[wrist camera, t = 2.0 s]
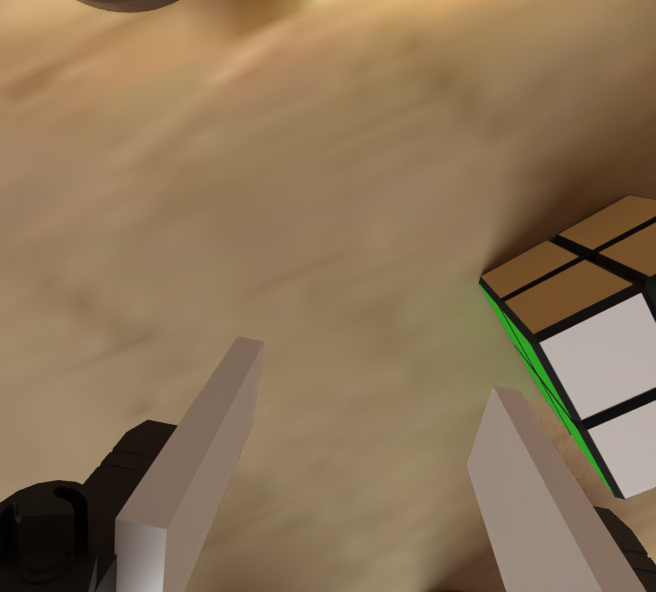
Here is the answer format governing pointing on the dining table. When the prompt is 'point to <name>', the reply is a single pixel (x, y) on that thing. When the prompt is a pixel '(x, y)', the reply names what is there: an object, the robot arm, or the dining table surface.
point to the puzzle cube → (592, 335)
